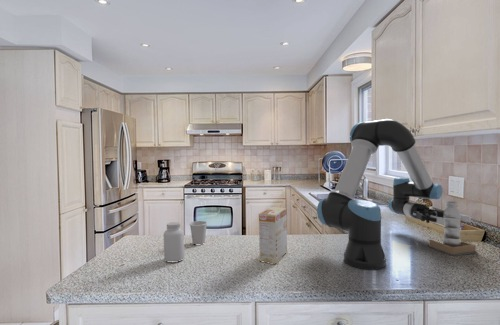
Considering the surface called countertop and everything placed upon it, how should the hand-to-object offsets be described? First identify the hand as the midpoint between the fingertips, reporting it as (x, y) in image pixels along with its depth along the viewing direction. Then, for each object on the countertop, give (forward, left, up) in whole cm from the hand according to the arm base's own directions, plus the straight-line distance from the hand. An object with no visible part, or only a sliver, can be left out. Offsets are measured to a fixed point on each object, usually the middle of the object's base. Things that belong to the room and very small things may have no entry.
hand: (457, 220), depth 117 cm
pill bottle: (-116, +25, -13) cm, 120 cm away
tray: (0, +2, -13) cm, 13 cm away
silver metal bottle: (0, +2, -13) cm, 13 cm away
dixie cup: (-105, +43, -13) cm, 115 cm away
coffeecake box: (-76, +16, -13) cm, 79 cm away
